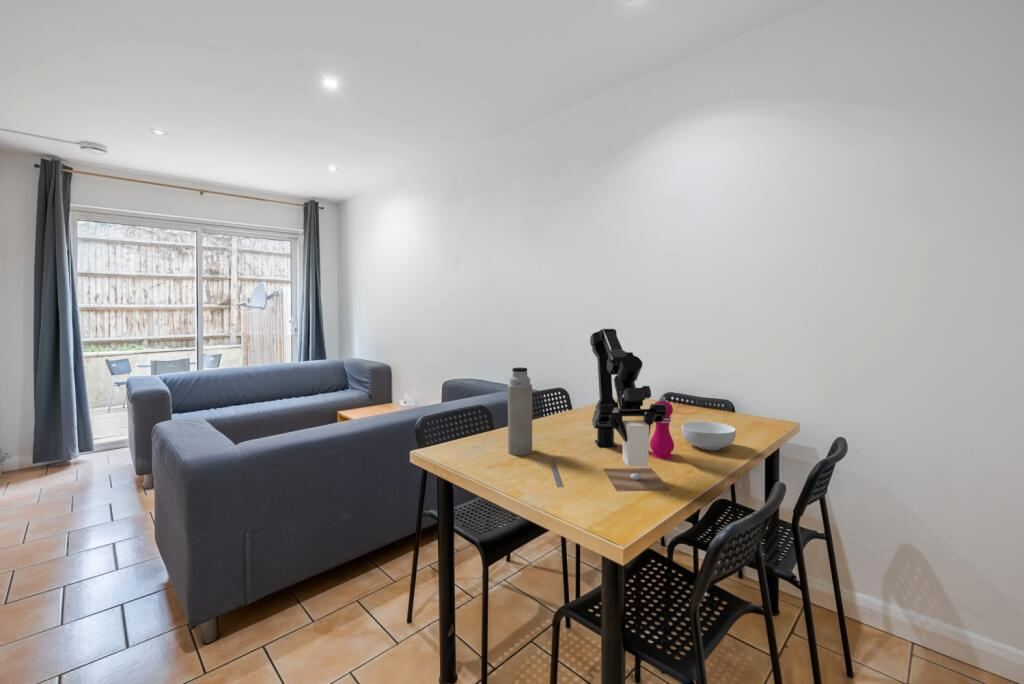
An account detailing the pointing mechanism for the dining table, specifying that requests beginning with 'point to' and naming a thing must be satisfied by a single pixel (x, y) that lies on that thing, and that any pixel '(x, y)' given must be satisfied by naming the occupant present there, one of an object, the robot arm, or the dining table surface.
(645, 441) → the cover
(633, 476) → the small grey round piece
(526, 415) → the thermos bottle
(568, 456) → the dining table surface
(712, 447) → the cereal bowl
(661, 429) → the pepper mill
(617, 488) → the board
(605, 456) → the dining table surface
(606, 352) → the robot arm
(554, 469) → the flat grey strip
